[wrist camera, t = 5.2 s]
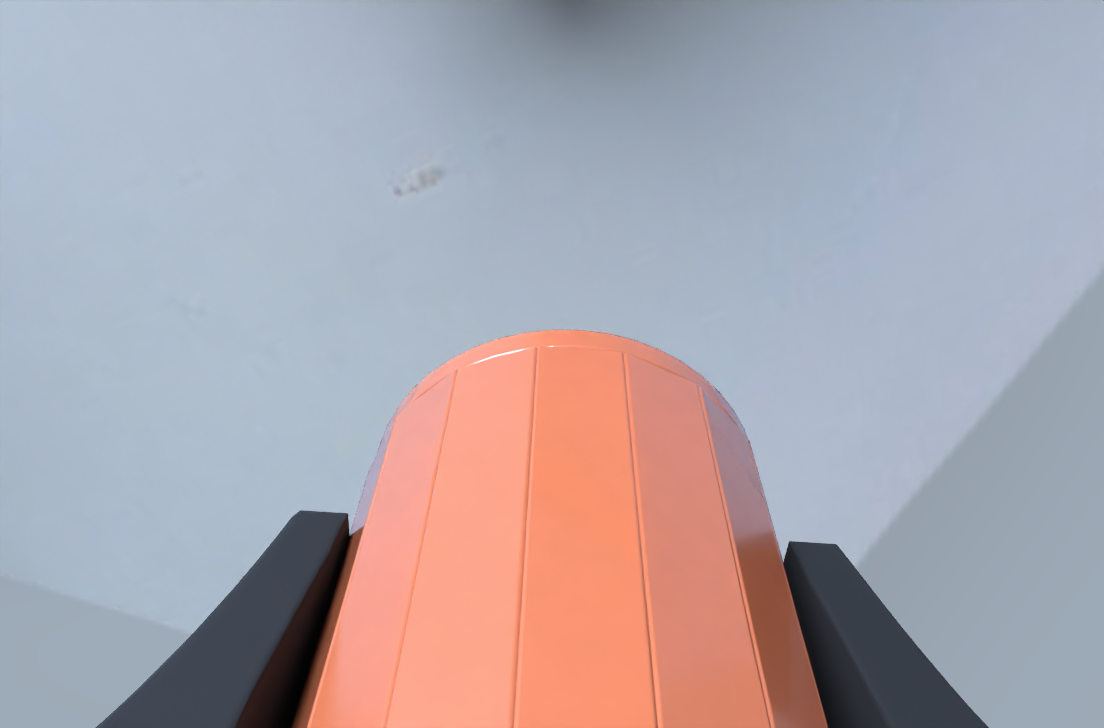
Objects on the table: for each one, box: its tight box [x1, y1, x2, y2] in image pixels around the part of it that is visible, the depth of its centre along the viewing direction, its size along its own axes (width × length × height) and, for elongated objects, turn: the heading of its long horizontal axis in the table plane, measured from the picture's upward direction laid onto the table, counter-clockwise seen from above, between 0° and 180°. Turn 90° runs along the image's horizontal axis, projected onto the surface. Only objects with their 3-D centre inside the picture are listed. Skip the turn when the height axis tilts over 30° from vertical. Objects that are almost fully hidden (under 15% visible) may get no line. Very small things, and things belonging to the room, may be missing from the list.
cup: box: [291, 330, 829, 728], centre depth 11 cm, size 6×6×7 cm
